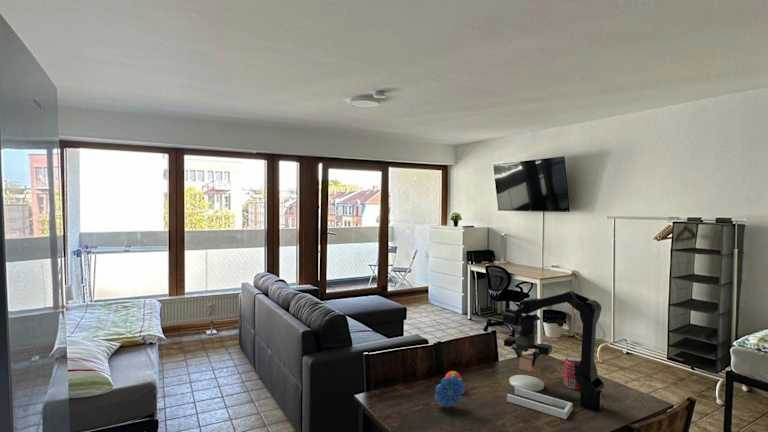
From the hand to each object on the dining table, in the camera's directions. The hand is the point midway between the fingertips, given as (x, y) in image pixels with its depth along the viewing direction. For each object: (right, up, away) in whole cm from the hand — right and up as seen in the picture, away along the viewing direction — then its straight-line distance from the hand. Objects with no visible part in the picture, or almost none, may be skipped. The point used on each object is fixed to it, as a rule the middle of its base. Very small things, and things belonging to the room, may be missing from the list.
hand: (527, 365), depth 176 cm
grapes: (-36, -8, -20) cm, 42 cm away
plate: (0, -8, 0) cm, 8 cm away
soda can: (+19, -8, -2) cm, 20 cm away
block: (0, -1, 0) cm, 1 cm away
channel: (-2, -8, -19) cm, 20 cm away
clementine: (-32, -8, -5) cm, 34 cm away
